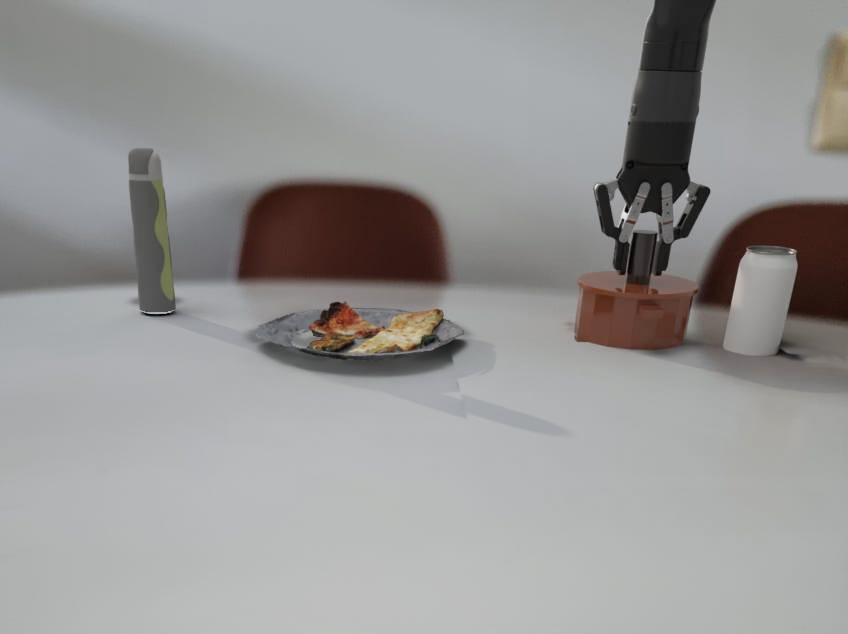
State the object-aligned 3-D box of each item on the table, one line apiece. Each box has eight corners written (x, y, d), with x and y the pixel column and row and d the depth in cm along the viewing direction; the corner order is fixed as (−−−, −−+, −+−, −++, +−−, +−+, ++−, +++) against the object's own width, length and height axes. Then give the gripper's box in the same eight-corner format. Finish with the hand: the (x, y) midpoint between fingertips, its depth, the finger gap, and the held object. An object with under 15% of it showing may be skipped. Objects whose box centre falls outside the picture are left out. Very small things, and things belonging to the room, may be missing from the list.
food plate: (325, 315, 133) (325, 288, 131) (486, 336, 124) (488, 308, 123) (224, 357, 114) (222, 326, 112) (406, 386, 105) (408, 353, 103)
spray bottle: (182, 310, 134) (169, 148, 124) (165, 317, 130) (151, 150, 120) (150, 307, 135) (135, 146, 125) (133, 314, 131) (116, 149, 121)
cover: (679, 281, 127) (689, 224, 124) (711, 306, 115) (723, 242, 111) (567, 279, 127) (574, 221, 124) (588, 303, 115) (596, 240, 111)
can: (785, 353, 120) (810, 250, 114) (763, 363, 116) (787, 256, 109) (735, 343, 123) (756, 243, 117) (712, 353, 119) (733, 249, 113)
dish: (663, 323, 132) (671, 273, 129) (702, 361, 116) (713, 304, 113) (563, 321, 132) (569, 271, 129) (588, 359, 116) (596, 302, 113)
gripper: (715, 116, 114) (687, 270, 123) (594, 113, 114) (575, 267, 123) (734, 119, 108) (704, 281, 117) (607, 117, 108) (586, 279, 117)
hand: (638, 273), depth 120 cm, fingers open, 3 cm apart
